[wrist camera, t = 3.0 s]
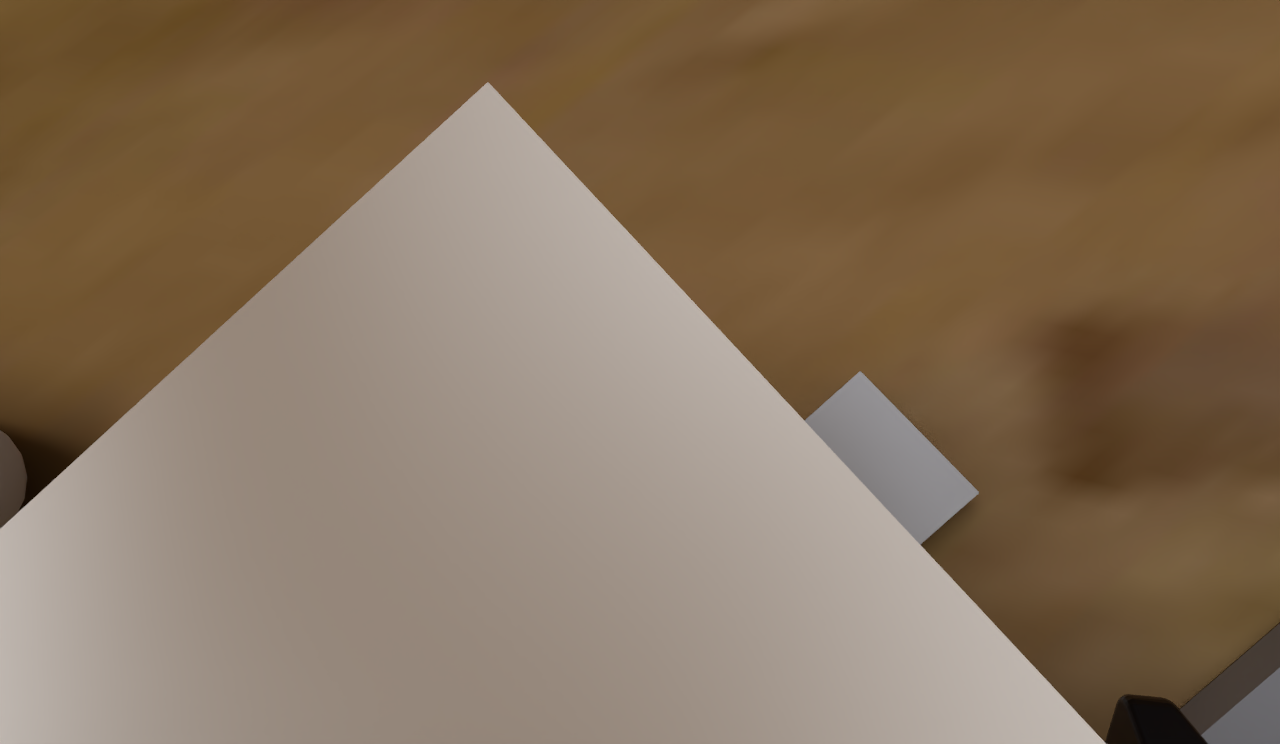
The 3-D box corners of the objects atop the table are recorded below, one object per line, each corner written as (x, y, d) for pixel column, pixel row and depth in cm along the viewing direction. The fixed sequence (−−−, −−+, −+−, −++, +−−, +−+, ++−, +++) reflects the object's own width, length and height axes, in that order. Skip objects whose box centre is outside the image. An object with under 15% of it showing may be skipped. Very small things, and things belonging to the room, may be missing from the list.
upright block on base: (644, 833, 18) (-103, 1898, 4) (509, 650, 19) (-427, 919, 5) (994, 525, 17) (1635, 406, 3) (834, 360, 19) (819, -222, 5)
